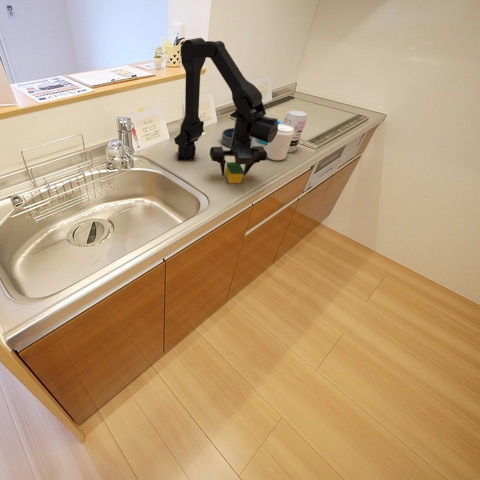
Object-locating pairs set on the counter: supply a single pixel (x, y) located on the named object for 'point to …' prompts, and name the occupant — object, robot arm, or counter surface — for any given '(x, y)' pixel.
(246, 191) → the counter surface
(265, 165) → the counter surface
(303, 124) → the supplement can
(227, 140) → the bowl
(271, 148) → the beverage can
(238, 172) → the sponge
